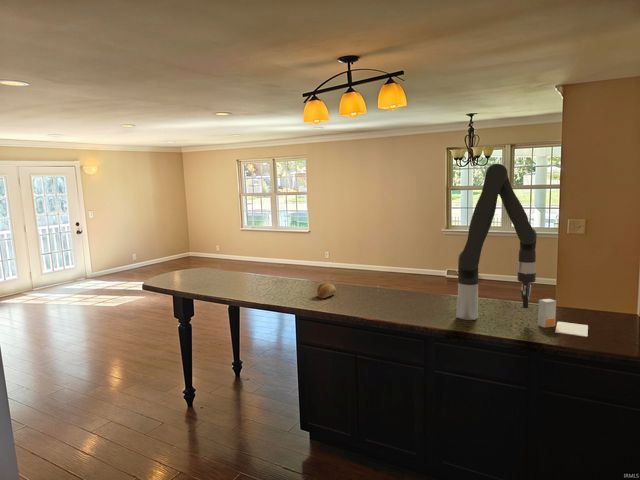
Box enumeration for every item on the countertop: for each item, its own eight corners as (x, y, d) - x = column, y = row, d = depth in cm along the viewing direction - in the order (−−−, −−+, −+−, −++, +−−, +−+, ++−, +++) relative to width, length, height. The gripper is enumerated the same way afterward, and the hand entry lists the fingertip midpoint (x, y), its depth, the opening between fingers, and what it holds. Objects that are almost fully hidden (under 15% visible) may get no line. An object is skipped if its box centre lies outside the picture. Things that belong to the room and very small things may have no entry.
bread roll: (313, 298, 253) (312, 285, 252) (325, 292, 266) (325, 280, 265) (327, 300, 248) (327, 286, 247) (339, 294, 261) (338, 281, 260)
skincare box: (544, 328, 193) (545, 302, 191) (537, 325, 197) (538, 299, 195) (555, 326, 195) (556, 300, 193) (548, 323, 199) (549, 298, 197)
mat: (555, 332, 187) (555, 331, 187) (557, 322, 200) (557, 321, 200) (587, 337, 181) (587, 336, 180) (587, 326, 194) (588, 325, 194)
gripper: (519, 268, 205) (518, 303, 207) (515, 273, 194) (514, 310, 196) (537, 269, 201) (536, 305, 203) (534, 274, 190) (532, 312, 192)
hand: (525, 307), depth 200 cm, fingers closed
